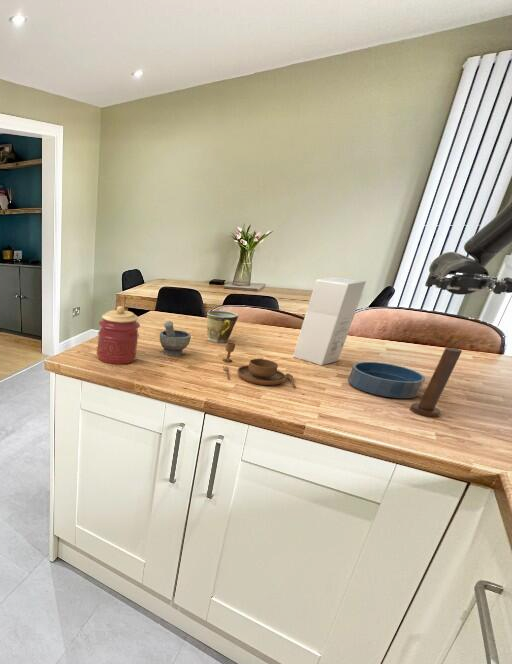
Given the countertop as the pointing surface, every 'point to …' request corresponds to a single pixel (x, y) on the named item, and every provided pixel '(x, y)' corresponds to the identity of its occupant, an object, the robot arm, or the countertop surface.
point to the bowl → (386, 379)
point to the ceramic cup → (220, 325)
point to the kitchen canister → (118, 336)
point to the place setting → (258, 370)
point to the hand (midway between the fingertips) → (472, 287)
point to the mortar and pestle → (173, 340)
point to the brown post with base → (437, 384)
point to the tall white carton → (328, 319)
